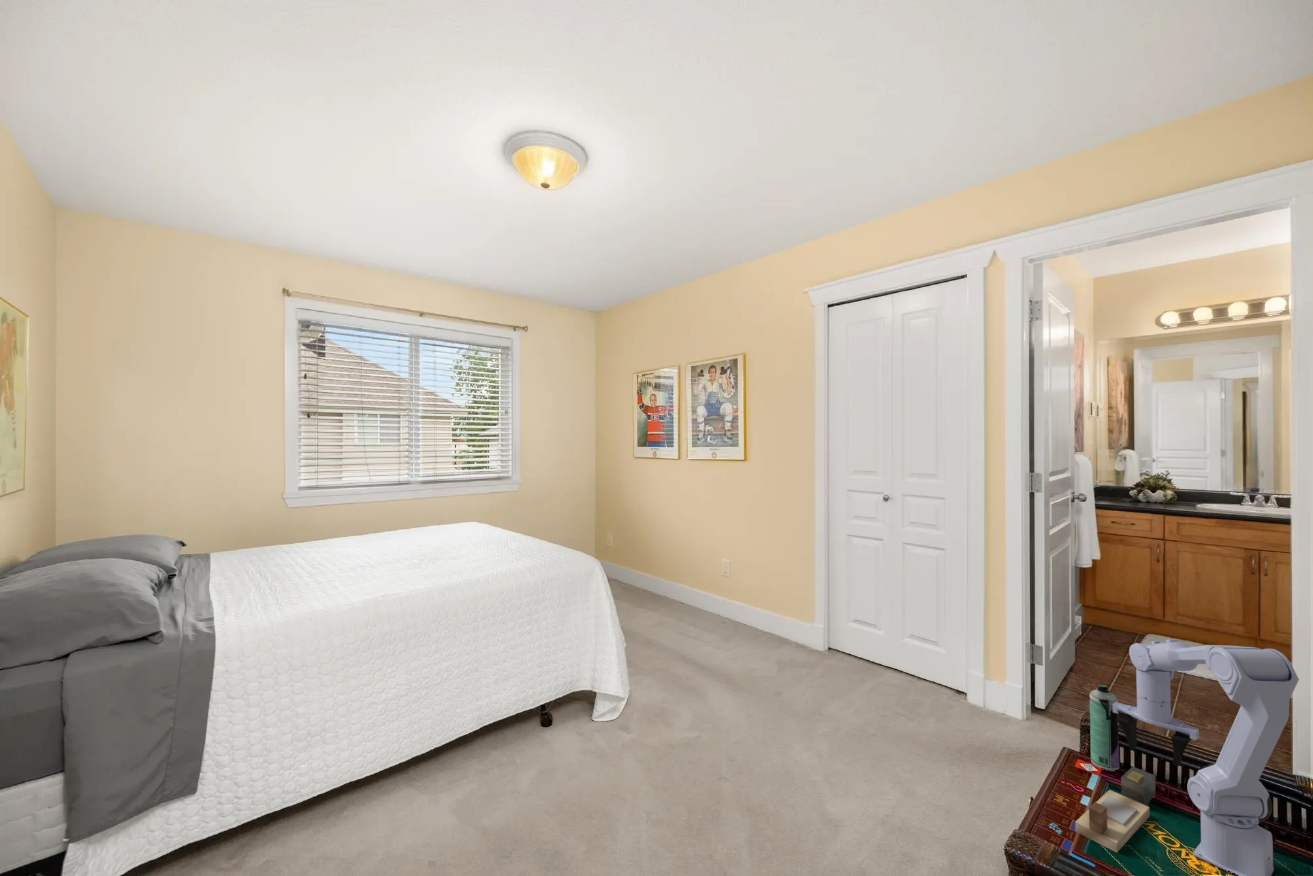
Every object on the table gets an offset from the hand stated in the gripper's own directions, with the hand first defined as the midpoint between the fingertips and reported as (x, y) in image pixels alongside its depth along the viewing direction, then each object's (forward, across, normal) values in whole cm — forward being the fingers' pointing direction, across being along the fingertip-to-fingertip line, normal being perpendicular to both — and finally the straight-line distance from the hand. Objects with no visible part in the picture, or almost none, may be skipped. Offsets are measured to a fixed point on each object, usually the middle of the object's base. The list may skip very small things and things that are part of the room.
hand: (1154, 756), depth 124 cm
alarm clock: (+10, -12, -3) cm, 16 cm away
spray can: (+10, +11, -5) cm, 15 cm away
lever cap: (+10, +2, +3) cm, 10 cm away
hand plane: (+9, +2, +18) cm, 20 cm away
